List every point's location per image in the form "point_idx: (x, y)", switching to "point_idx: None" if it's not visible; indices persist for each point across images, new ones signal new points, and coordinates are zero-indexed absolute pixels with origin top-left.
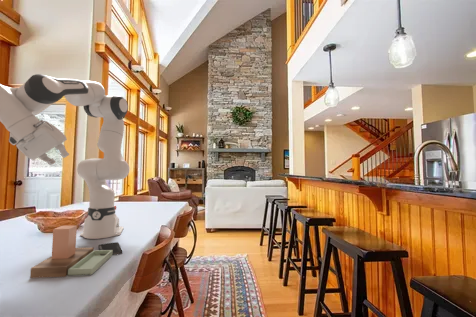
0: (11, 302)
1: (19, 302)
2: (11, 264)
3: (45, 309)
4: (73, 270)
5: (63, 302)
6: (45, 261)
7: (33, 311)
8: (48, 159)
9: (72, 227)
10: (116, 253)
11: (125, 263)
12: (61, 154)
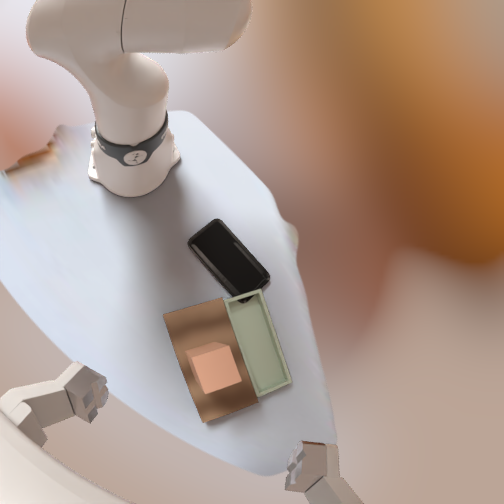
0: (251, 466)
1: (261, 463)
2: None
3: None
4: (265, 393)
5: None
6: (197, 393)
7: None
8: (62, 405)
9: (236, 366)
10: (263, 285)
11: (307, 322)
12: (301, 487)
